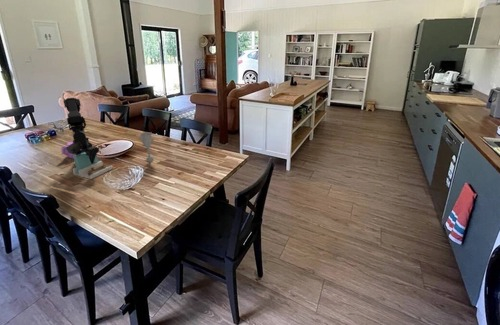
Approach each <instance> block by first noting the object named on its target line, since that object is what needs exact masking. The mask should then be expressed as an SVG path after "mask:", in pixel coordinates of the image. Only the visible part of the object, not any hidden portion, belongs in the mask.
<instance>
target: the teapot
mask: <svg viewBox="0 0 500 325" xmlns="http://www.w3.org/2000/svg"><path fill="white" fill-rule="evenodd" d="M87 138H88V139H89V138H90V136H87ZM89 140H90V139H89ZM72 143H73V140H71V141H69V142H67V143H66V144H65V145H63V146H61V147H60V148H61V154H62V155H64V156H67V157H68V158H69V159H73V160H74V158H73V156H76V155H75V154H71V153H69V152H68V151H67V150H66V148H67V147H68V146H69V145H71V144H72Z"/></svg>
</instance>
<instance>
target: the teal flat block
mask: <svg viewBox="0 0 500 325" xmlns="http://www.w3.org/2000/svg"><path fill="white" fill-rule="evenodd" d="M73 158H74V159H73ZM73 158H72V159H73V161H74V164H75V168H77V172H78V170H81V169H83V168H85V167H88V166H90V165H92V164H91V162H90V159H89V156H87V155H86V153H85V152H84V153H81V154H78V155H76V156H73ZM97 162H99V159H98V156H97V154H96V157H95V160H94V163H93V164H95V163H97ZM78 174H79V172H78Z"/></svg>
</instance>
